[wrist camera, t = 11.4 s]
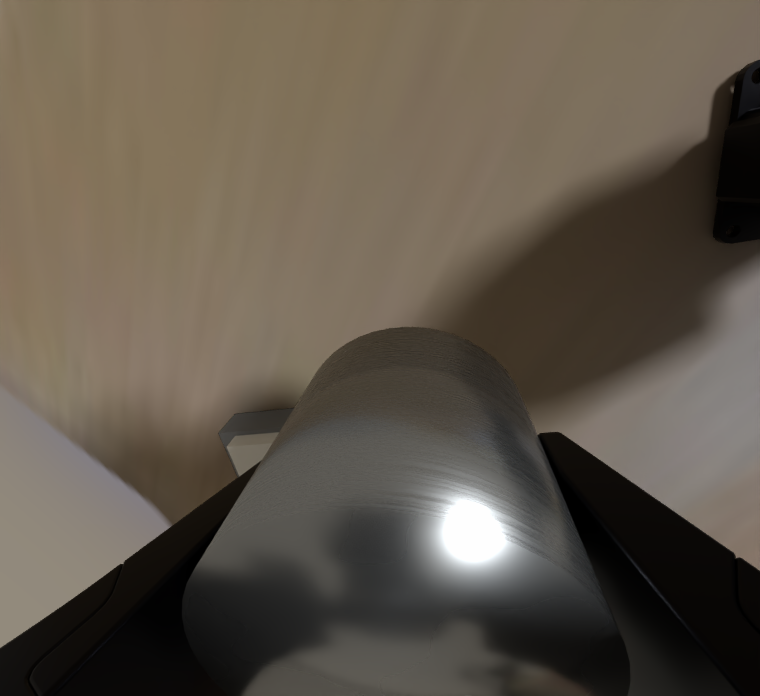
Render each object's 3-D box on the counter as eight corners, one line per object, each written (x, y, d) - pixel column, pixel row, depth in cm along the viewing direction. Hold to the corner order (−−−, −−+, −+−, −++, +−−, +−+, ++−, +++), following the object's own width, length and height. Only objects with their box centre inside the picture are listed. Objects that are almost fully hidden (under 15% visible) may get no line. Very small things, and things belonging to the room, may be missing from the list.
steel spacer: (519, 308, 8) (650, 495, 3) (531, 506, 10) (619, 792, 5) (276, 345, 9) (105, 520, 4) (333, 515, 11) (261, 756, 6)
